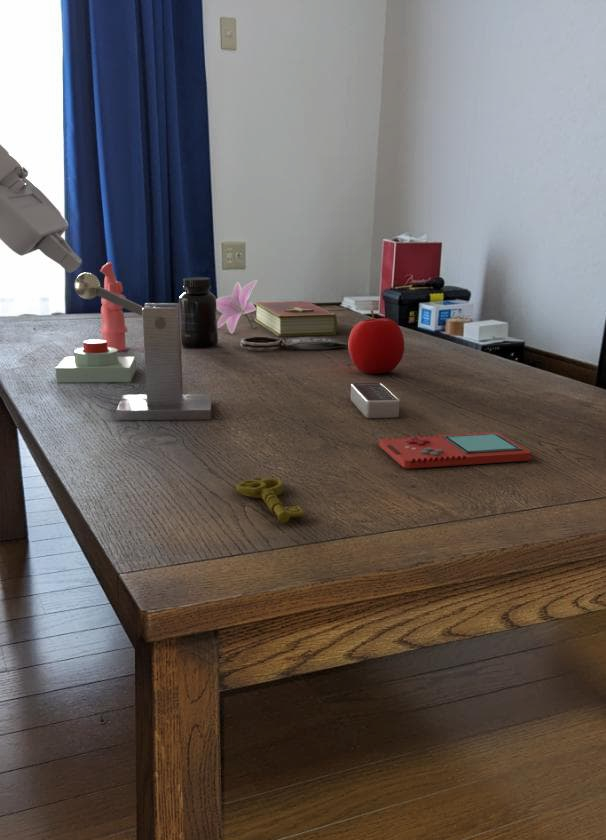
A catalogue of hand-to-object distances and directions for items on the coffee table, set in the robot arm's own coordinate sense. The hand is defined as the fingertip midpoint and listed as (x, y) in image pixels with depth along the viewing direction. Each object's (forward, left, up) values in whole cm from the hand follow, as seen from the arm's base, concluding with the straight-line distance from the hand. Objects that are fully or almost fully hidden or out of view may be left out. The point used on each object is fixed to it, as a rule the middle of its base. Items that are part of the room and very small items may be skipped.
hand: (77, 267), depth 111 cm
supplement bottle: (+13, +51, -19) cm, 55 cm away
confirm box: (-2, +24, -18) cm, 30 cm away
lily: (+20, +69, -19) cm, 74 cm away
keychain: (+30, +48, -19) cm, 59 cm away
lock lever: (+5, +1, -6) cm, 7 cm away
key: (+22, -36, -19) cm, 47 cm away
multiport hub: (+38, +2, -19) cm, 42 cm away
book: (+32, +72, -19) cm, 81 cm away
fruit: (+42, +26, -19) cm, 53 cm away
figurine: (-2, +47, -19) cm, 50 cm away
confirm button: (-2, +24, -15) cm, 28 cm away
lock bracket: (+10, +1, -18) cm, 21 cm away
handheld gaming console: (+44, -20, -19) cm, 52 cm away
